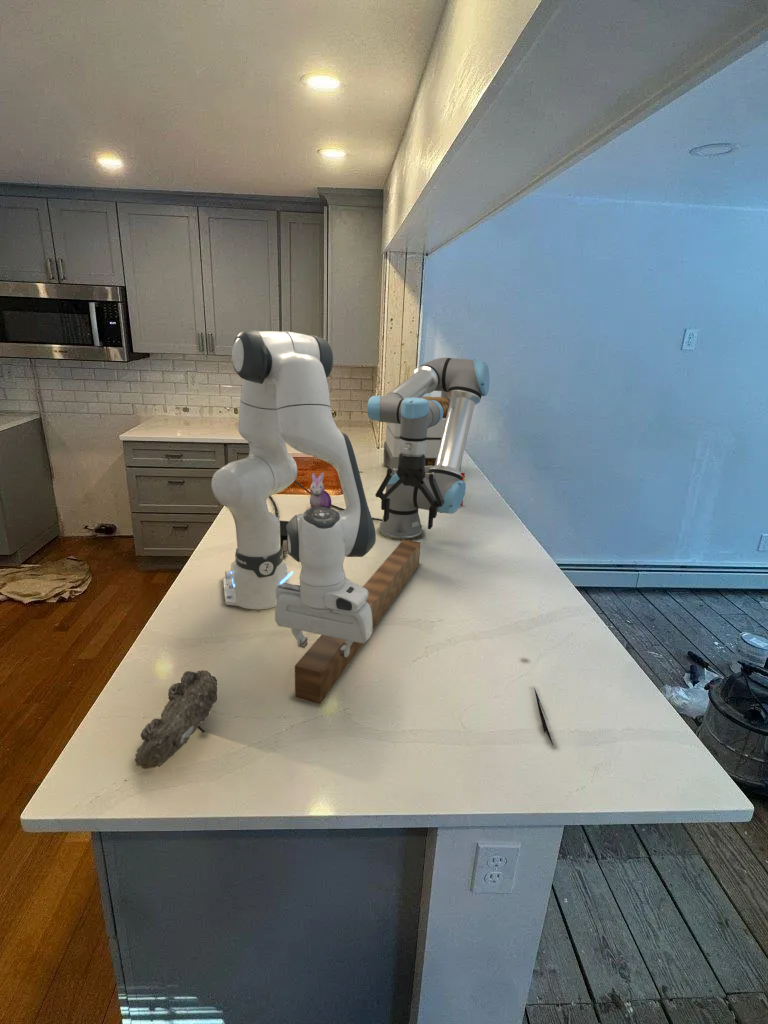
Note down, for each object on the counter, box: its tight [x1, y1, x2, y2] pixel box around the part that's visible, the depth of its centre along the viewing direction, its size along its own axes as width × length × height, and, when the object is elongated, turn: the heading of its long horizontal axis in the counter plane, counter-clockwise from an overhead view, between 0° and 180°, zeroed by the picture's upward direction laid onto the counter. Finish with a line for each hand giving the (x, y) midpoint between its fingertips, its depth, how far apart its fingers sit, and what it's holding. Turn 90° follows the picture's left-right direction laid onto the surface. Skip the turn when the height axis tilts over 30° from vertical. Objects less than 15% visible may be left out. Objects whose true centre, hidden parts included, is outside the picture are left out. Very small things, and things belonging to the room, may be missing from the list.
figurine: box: [309, 472, 332, 509], centre depth 216 cm, size 9×10×15 cm
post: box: [294, 539, 422, 705], centre depth 144 cm, size 72×6×8 cm, turn 161°
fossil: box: [134, 669, 218, 770], centre depth 103 cm, size 22×10×15 cm
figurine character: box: [279, 520, 290, 556], centre depth 182 cm, size 7×8×15 cm
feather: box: [524, 658, 554, 746], centre depth 117 cm, size 2×28×2 cm
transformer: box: [383, 384, 462, 473], centre depth 268 cm, size 34×33×41 cm
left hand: (323, 650), depth 116 cm, fingers open, 8 cm apart
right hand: (407, 524), depth 167 cm, fingers open, 13 cm apart
